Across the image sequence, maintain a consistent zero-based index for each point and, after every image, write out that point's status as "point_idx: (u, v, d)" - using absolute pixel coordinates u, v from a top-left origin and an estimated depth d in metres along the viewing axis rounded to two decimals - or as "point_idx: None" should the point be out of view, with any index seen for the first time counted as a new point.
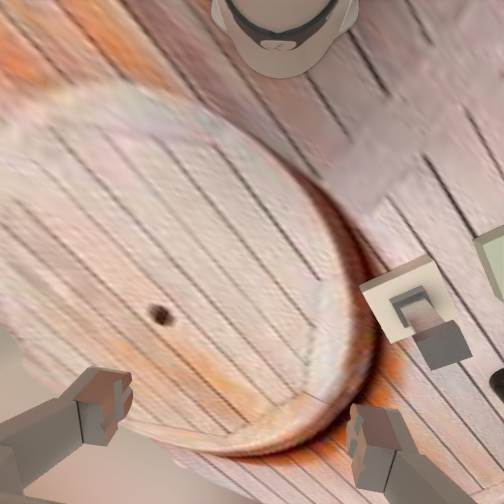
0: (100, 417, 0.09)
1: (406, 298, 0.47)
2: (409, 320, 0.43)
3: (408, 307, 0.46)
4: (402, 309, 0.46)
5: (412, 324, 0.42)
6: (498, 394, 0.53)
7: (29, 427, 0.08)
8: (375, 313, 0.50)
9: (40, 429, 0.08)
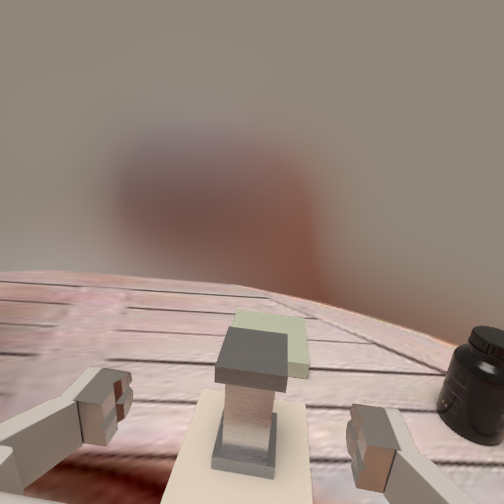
0: (100, 417, 0.09)
1: (218, 432, 0.27)
2: None
3: None
4: (223, 436, 0.25)
5: (225, 401, 0.24)
6: (483, 424, 0.31)
7: (29, 427, 0.08)
8: None
9: (40, 429, 0.08)
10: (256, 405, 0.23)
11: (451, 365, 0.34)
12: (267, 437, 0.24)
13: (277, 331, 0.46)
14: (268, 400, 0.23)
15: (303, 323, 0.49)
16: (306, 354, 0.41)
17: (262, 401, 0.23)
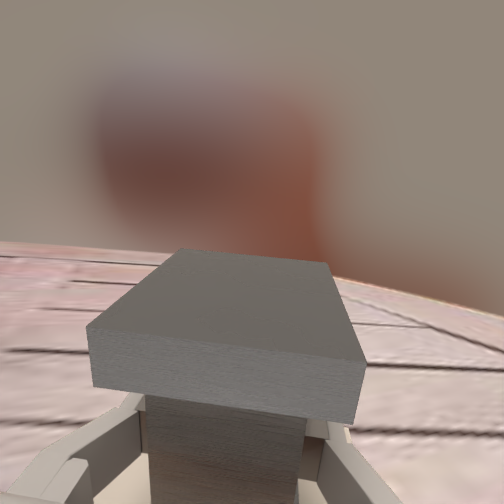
0: None
1: None
2: None
3: None
4: None
5: None
6: None
7: (98, 438, 0.08)
8: None
9: (107, 440, 0.08)
10: (246, 459, 0.07)
11: None
12: None
13: None
14: (283, 446, 0.07)
15: None
16: None
17: (265, 449, 0.07)
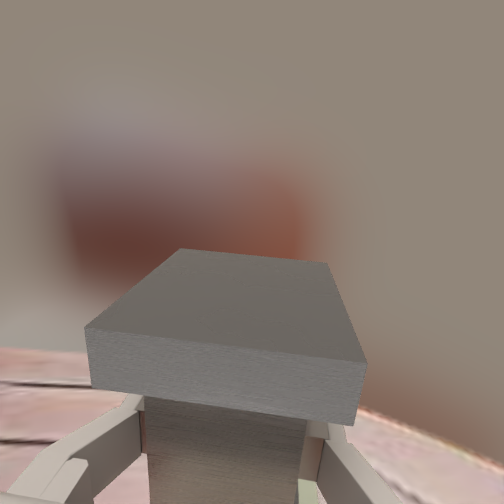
0: None
1: None
2: None
3: None
4: None
5: None
6: None
7: (98, 438, 0.08)
8: None
9: (107, 440, 0.08)
10: (246, 461, 0.07)
11: None
12: None
13: None
14: (282, 447, 0.07)
15: (314, 497, 0.23)
16: None
17: (265, 451, 0.07)
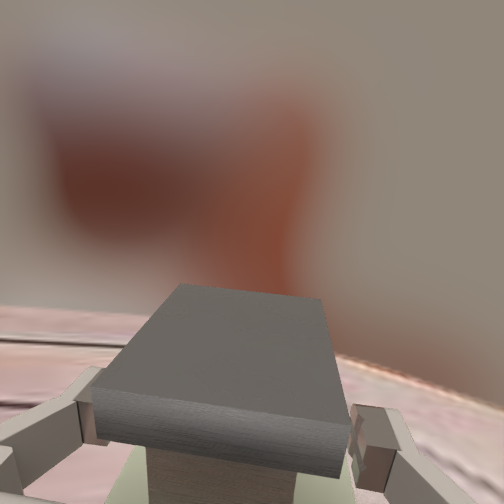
0: None
1: None
2: None
3: None
4: None
5: None
6: None
7: (29, 427, 0.08)
8: None
9: (40, 429, 0.08)
10: (241, 500, 0.08)
11: None
12: None
13: None
14: (276, 489, 0.08)
15: (345, 476, 0.15)
16: None
17: (259, 492, 0.08)
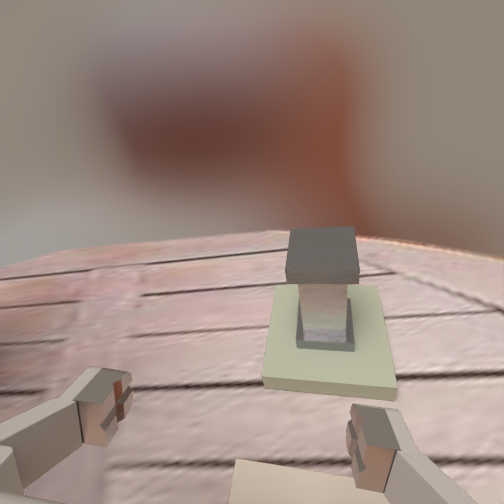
0: (100, 417, 0.09)
1: (297, 320, 0.30)
2: None
3: None
4: (302, 323, 0.28)
5: None
6: None
7: (29, 427, 0.08)
8: None
9: (40, 429, 0.08)
10: (330, 297, 0.25)
11: None
12: (344, 321, 0.26)
13: None
14: (341, 292, 0.24)
15: (377, 297, 0.32)
16: (390, 365, 0.26)
17: (336, 293, 0.24)
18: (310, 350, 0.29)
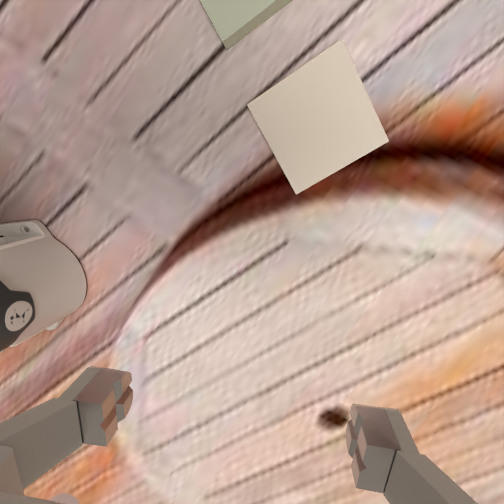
0: (100, 417, 0.09)
1: None
2: None
3: None
4: None
5: None
6: None
7: (29, 427, 0.08)
8: (330, 172, 0.35)
9: (40, 429, 0.08)
10: None
11: None
12: None
13: None
14: None
15: None
16: None
17: None
18: None
